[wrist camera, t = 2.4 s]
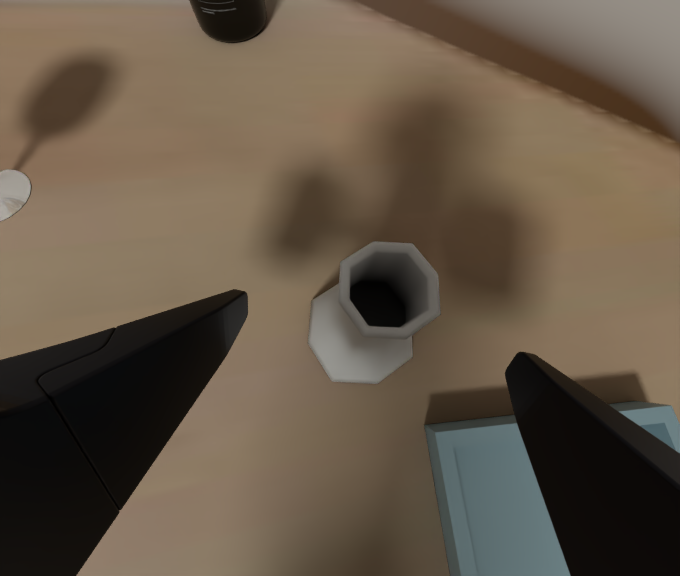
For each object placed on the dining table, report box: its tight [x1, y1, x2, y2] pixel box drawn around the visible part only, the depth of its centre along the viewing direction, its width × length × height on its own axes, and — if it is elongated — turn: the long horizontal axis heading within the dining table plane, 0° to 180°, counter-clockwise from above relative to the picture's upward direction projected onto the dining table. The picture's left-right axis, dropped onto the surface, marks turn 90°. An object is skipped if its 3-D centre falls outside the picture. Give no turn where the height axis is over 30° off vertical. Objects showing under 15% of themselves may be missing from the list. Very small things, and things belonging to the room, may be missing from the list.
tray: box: [424, 401, 680, 576], centre depth 13 cm, size 14×14×2 cm
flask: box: [308, 241, 441, 384], centre depth 12 cm, size 7×7×10 cm
